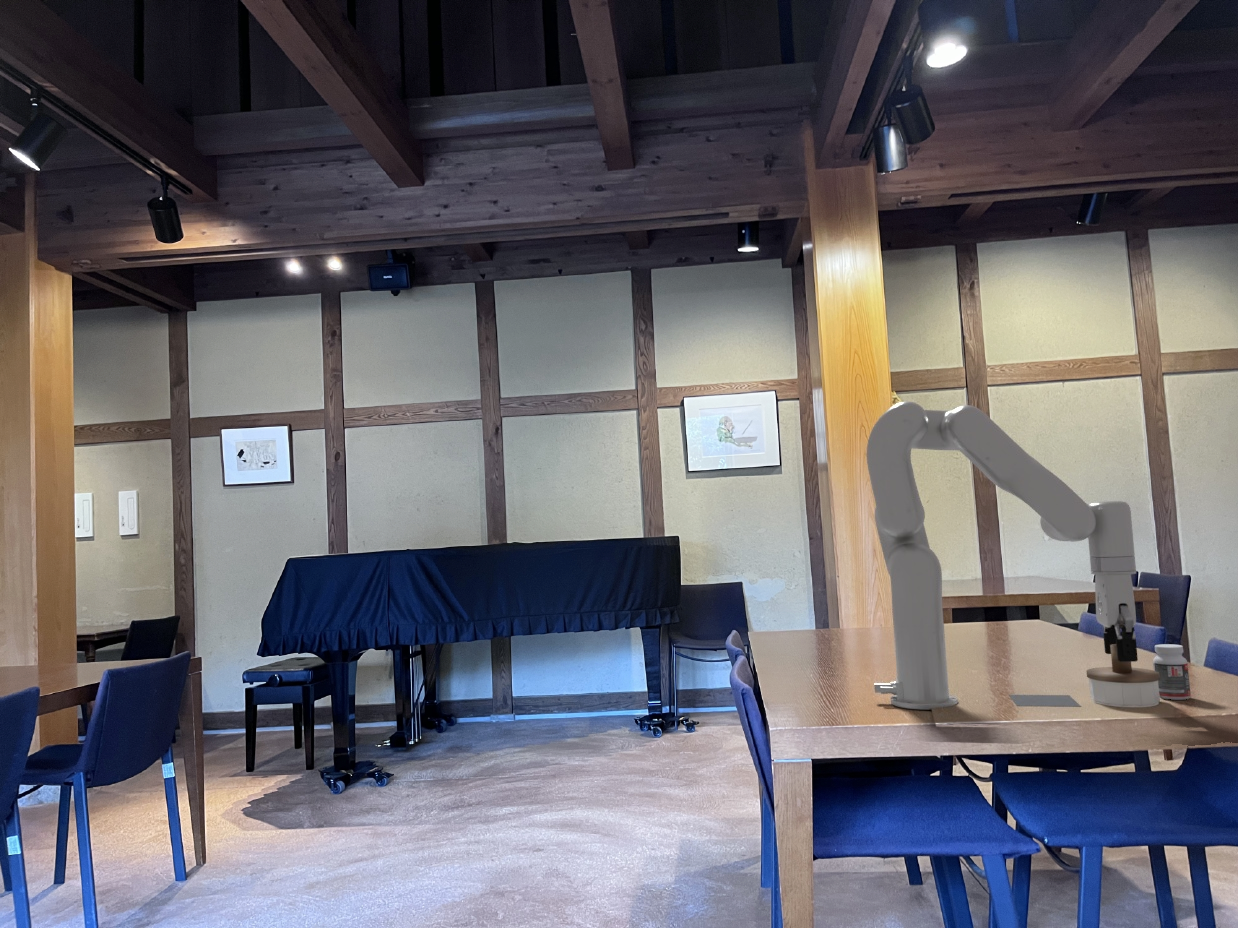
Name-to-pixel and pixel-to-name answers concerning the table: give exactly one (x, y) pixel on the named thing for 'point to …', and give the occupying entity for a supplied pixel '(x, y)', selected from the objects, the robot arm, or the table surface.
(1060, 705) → the mat
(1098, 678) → the lid
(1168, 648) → the pill bottle
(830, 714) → the table surface
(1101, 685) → the bowl
